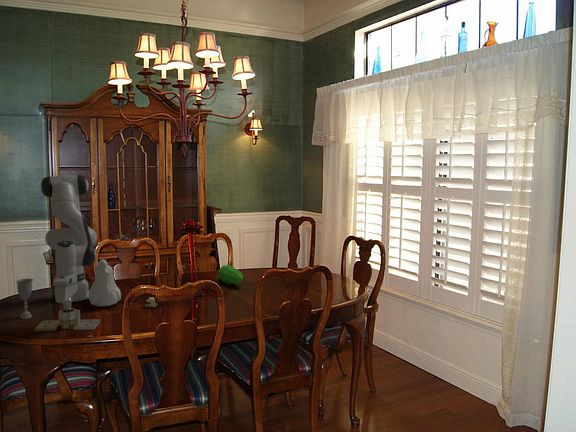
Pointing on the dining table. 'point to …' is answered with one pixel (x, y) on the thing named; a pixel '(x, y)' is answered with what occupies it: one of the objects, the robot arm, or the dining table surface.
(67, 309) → the pin
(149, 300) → the cat figure
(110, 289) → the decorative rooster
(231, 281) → the green ridged rounded cylinder
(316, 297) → the dining table surface
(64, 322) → the hinge
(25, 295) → the chalice
